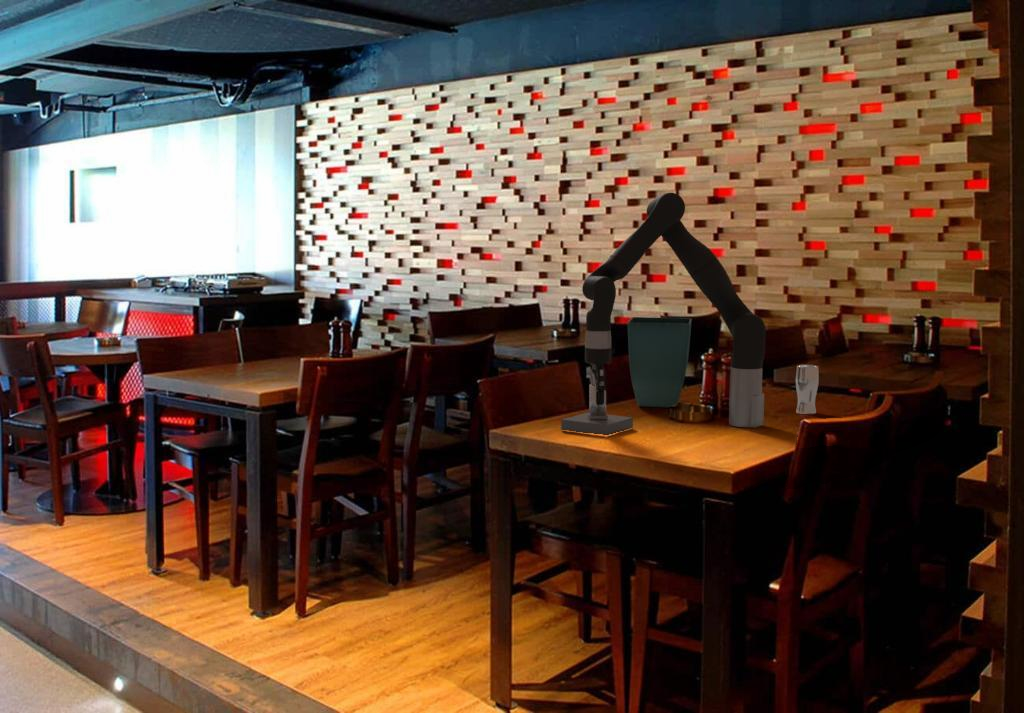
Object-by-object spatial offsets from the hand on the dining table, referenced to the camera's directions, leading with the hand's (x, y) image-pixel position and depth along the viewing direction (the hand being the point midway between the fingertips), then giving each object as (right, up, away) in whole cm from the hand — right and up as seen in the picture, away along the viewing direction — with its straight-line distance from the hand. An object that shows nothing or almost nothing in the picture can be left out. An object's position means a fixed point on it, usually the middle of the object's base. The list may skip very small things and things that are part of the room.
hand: (597, 402), depth 293 cm
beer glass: (+69, -5, +31) cm, 76 cm away
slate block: (0, -9, +1) cm, 9 cm away
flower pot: (+24, -3, +46) cm, 52 cm away
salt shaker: (0, -5, +1) cm, 5 cm away
